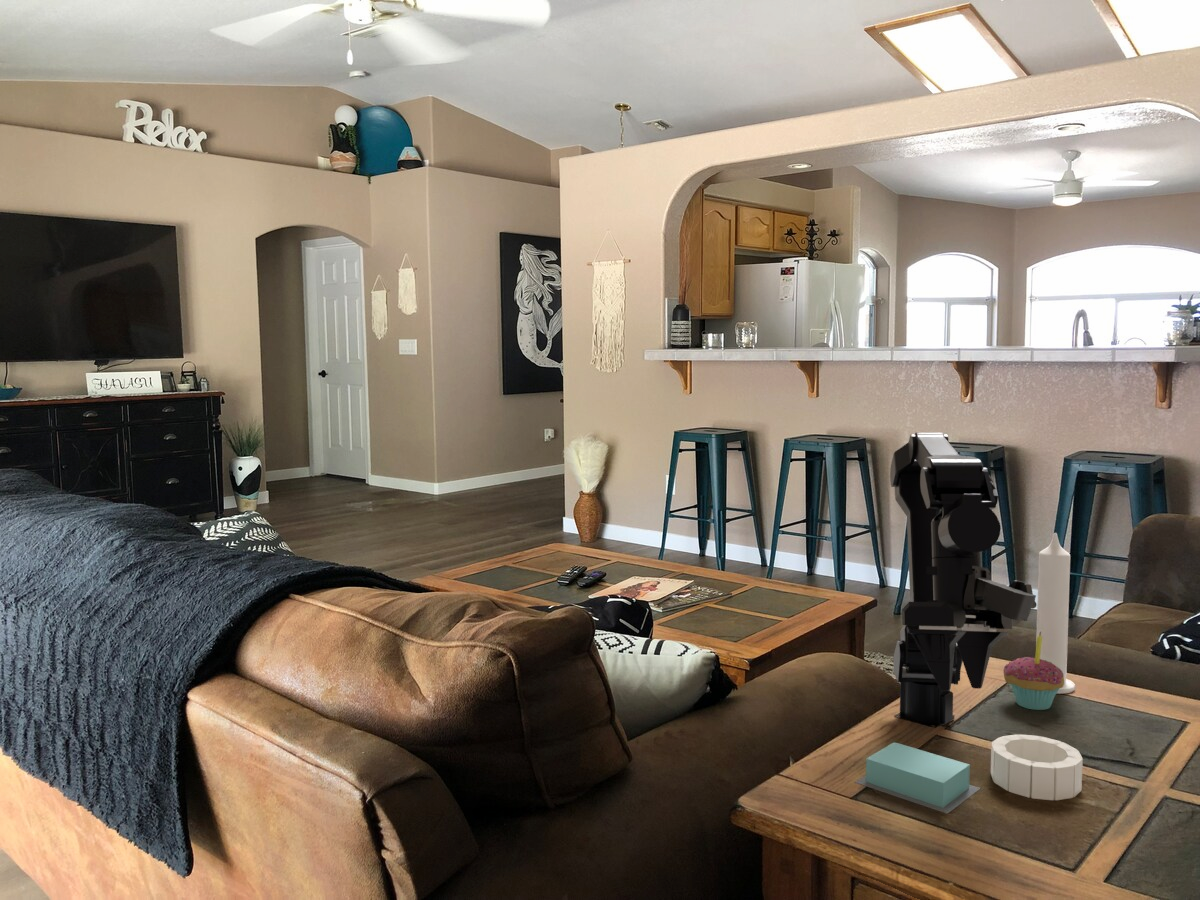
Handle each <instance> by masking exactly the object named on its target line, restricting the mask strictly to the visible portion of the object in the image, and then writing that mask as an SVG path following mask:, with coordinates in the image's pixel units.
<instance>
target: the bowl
mask: <svg viewBox="0 0 1200 900" xmlns="http://www.w3.org/2000/svg"><path fill="white" fill-rule="evenodd" d="M990 748H991V749H990V750H991V751H990V776H991V778H992V781H993V783H994V784H996V785H997V786H999V787H1001V788H1002V789H1004V790H1005V791H1008V793H1009V792H1010V793H1012V794H1016V795H1018V796H1022V797H1025V798H1029V799H1030V798H1031V799H1034V800H1035V799H1037V800H1046V801H1060V800H1067V799H1072V798H1076V796H1077V795H1078V794H1080V793H1081V792H1082V788H1083V785H1082V784H1083V764H1084V763H1083V759H1084V758H1083V757H1082V755H1081V753H1080V751H1079V750H1078V749H1077V748H1074V747H1073V746H1071V745H1069V743H1066V742H1063V741H1061V740H1056V739H1053V738H1049V737H1046V736H1040V735H1031V734H1016V733H1015V734H1010V735H1009V734H1008V735H1003V736H999V737H997V738H996V739H995V740H992V741H991V746H990Z"/></svg>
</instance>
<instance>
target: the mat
mask: <svg viewBox="0 0 1200 900" xmlns="http://www.w3.org/2000/svg"><path fill="white" fill-rule="evenodd" d="M854 783H856V784H858V785H860V786H865V787H866V788H867V787H868V788H870V789H873V790H876V791H879V792H881V793H885V794H888V795H890V796H893V797H896V798H899V799H903V800H905V801H908V802H912V803H915V804H917V805H921V806H923V807H927V808H929V809H932V810H933V811H934V810H935V811H938V812H941V813H944V814H946V815H948V814H949V813H950V812H952V811H953V810H955V809H956V808H958V806H960V805H961V804H963V803H964V802H965V801H966V800H968V799H970V798H971V796H973V795H974V794H977V792H979V790H981V789H982V788H981V787H979V786H975V785H972V784H969V789H968V790H966V791H965V792H964V793H962V794H961V795H959V796H958V797H957V798H955V799H954V800H953V801H951V802H950V803H949V804H947V805H946V806H945V807H943V808H942V807H939V806H936V805H933V804H930V803H927V802H924V801H921V800H919V799H916V798H913V797H910V796H907V795H904V794H901V793H898V792H895V791H892V790H889V789H886V788H883V787H880V786H877V785H874V784H871V783H868V782H866V774H865V775H863V776H862V777H860V778H859V779H857V780H855V781H854Z"/></svg>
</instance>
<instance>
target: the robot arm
mask: <svg viewBox="0 0 1200 900" xmlns="http://www.w3.org/2000/svg"><path fill="white" fill-rule="evenodd" d="M889 469H890V470H889V479H890V482H889V483H890V486H891V487H892V488H894V497H895V499H894V500H895V501H896V503H897V504H898V505H899V507H900V509H901V510H902V512H904V515H906V526H907V527H906V528H907V529H906V530H907V531H906V533H907V554H908V577H909V578H908V579H909V599H910V600H909V601H908V602H907V604H905V605H904V607H903V608H902V609H901V615H902V616H901V620H902V628H901V629H900V631H899V633H900V635H899V636H900V640H897V641H896V646H895V648H894V654H893V659H892V660H893V661H892V663H893V664H892V665H893V666H892V667H893V668H892V669H893V673H894V674H893V675H894V676H895V678H896V681H897V683H899V684H900V685H899V712H898V713H897V714H894V715H893V716H894V718H897V719H901V720H905V721H908V722H911V723H914V724H919V725H921V726H926V727H929V728H933V729H934V728H935V729H936V728H938V727H943V726H945V725H946V724H948V723H950V722H952V721H954V720H955V715H954V714H953V713H954V712H953V710H954V707H953V706H954V693H953V691H951V690H952V689H951V688H952V685H956V686H957V685H959V682H960V681H961V669H962V666H963V667H964V669H965V672H966V675H967V678H968V682H969V684H970V686H971V688H972V689H982V688H983V683H984V680H985V676H986V672H987V668H988V665H989V664H988V663H989V661H990V657H991V655H992V654H991V653H992V651H993V647H994V646H995V644H997V642H999V641H1001V639H1002V638H1003V637H1006V636H1007V635H1008V631H1007V632H1006V631H997V629H998V630H1013V621H1019V620H1022V621H1023V622H1027V621H1028V618H1029V616H1030V613H1031V610H1032V609H1035V608H1037V602H1036V597H1037V595H1036V594H1033V587H1032V584H1029V583H1027V582H1024V581H1022V580H1021V581H1020V580H1013V581H1012V582H1011V583H1010V584H1009V585H1007V584H1004V583H1000V582H997V581H994V580H992V572H991V571H990V570H989V568H988V567H983V562H982V561H983V555H982V552H985V551H987V550H989V549H991V548H992V547H993V546H995V544H996V543H997V542H998V541H999V538H1000V535H1001V530H1002V529H1001V523H1000V521H999V519H998V516H997V515H996V513H995V512H994V511H993V510H994V509H996V507H997V504H998V499H999V494H998V491H997V489H996V486H995V484H994V481H993V477H992V476H991V475H990V474H989V471H988V468H987V467H984V464H983V462H982V460H981V459H980V458H977V457H974V456H968V455H967V456H965V455H960V454H959V453H958V452H957V450H956V449H955V448H954V446H953V445H951V443H950V442H949V436H948V434H944V433H943V432H915V433H911V434H909V438H908V442H907V443H905V444H904V445H902V446H901V447H900V448H898V449H897V450H895V451H894V452H893V456H892V459H891V463H890V468H889ZM958 628H959V629H961V630H958ZM962 664H963V665H962Z"/></svg>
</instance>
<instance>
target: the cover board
mask: <svg viewBox="0 0 1200 900" xmlns="http://www.w3.org/2000/svg"><path fill="white" fill-rule="evenodd" d="M970 765H971V764H969V763H965V762H962V761H960V760H959V761H958V760H957V759H956V760H955V759H952V758H948V757H945V756H943V755H938V754H935V753H931V752H928V751H925V750H922V749H918V748H916V747H911V746H909V745H905V744H901V743H900V742H899V743H898V742H895V741H894V742H892V743H890V744H889V745H886V746H885V747H883V748H882V749H880V750H879V751H877V752H875V753H873V754H872V755H870V756H868V757H867V758H866V759H865V775H866V782H868V783H871V784H874V785H877V786H880V787H883V788H886V789H889V790H892V791H895V792H898V793H901V794H904V795H907V796H910V797H913V798H916V799H919V800H921V801H924V802H927V803H930V804H933V805H936V806H939V807H942V808H943V807H945V806H946V805H947V804H949V803H950V802H951V801H953V800H954V799H955V798H957V797H958V796H959V795H961V794H962V793H964V792H965V791H966V790H968V789H969V785H970V775H971V774H970V772H971V771H970V770H971V767H970Z"/></svg>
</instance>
